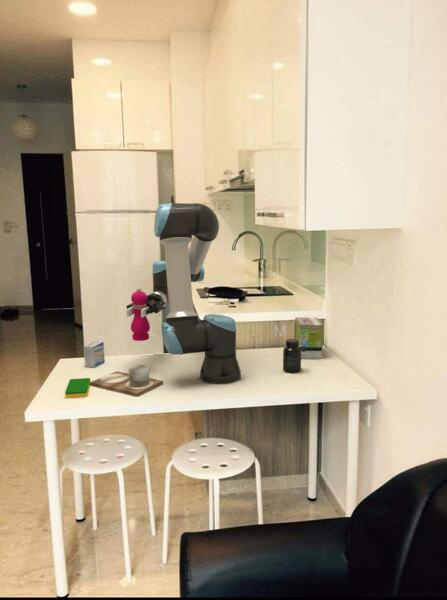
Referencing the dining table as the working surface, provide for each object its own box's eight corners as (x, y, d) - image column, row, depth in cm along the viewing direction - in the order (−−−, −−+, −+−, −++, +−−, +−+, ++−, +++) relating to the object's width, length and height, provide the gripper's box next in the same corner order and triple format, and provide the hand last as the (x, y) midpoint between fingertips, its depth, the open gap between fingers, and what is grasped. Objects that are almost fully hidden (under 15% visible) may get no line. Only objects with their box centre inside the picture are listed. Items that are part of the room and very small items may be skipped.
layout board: (163, 384, 181) (162, 364, 180) (137, 396, 169) (136, 376, 168) (117, 374, 192) (116, 355, 191) (89, 385, 181) (88, 365, 179)
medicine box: (94, 368, 200) (93, 346, 198) (84, 367, 201) (83, 346, 200) (105, 362, 207) (103, 341, 206) (95, 361, 209) (94, 340, 207)
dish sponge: (90, 383, 183) (90, 377, 183) (87, 398, 170) (86, 391, 169) (70, 385, 182) (69, 378, 182) (65, 399, 169) (64, 392, 168)
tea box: (322, 359, 209) (323, 324, 206) (298, 359, 209) (299, 324, 206) (316, 349, 224) (317, 316, 221) (293, 349, 224) (294, 316, 221)
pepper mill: (146, 341, 189) (144, 289, 185) (128, 340, 191) (125, 288, 187) (153, 336, 196) (151, 285, 192) (135, 336, 198) (133, 285, 194)
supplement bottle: (285, 367, 199) (285, 337, 197) (302, 369, 197) (303, 339, 194) (280, 372, 193) (281, 342, 191) (298, 374, 190) (299, 343, 188)
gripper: (176, 311, 208) (158, 324, 185) (134, 310, 211) (112, 322, 189) (175, 293, 206) (157, 304, 184) (133, 292, 210) (111, 302, 187)
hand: (134, 313), depth 186 cm, fingers closed on pepper mill, 5 cm apart
